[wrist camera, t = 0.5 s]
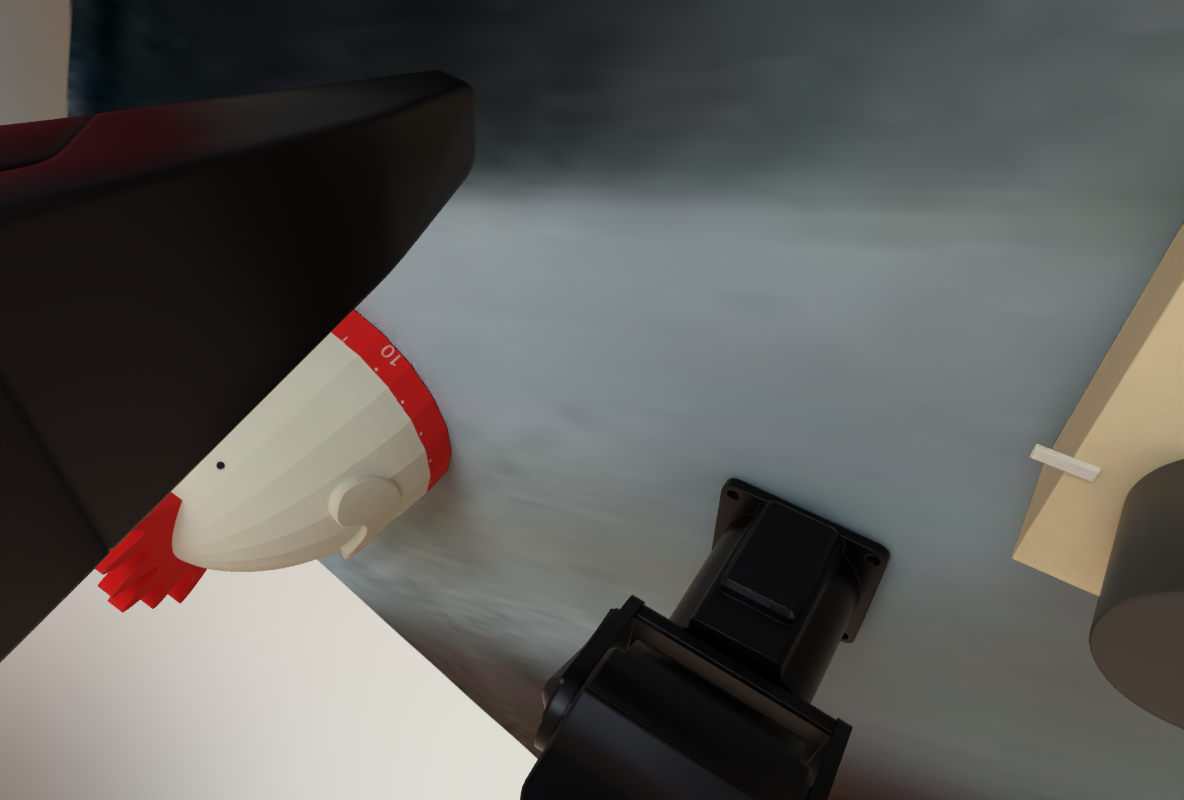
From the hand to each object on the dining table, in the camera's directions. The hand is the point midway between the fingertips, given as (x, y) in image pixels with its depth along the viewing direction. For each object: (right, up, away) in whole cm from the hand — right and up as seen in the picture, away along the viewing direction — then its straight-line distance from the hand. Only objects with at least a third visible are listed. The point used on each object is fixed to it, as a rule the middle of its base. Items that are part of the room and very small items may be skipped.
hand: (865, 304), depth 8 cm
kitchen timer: (-15, 0, +39) cm, 42 cm away
